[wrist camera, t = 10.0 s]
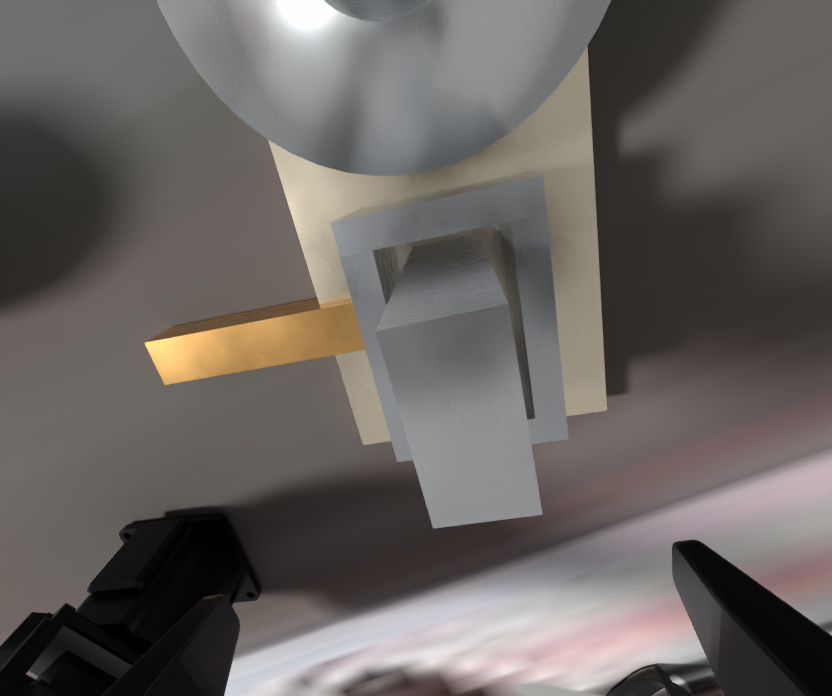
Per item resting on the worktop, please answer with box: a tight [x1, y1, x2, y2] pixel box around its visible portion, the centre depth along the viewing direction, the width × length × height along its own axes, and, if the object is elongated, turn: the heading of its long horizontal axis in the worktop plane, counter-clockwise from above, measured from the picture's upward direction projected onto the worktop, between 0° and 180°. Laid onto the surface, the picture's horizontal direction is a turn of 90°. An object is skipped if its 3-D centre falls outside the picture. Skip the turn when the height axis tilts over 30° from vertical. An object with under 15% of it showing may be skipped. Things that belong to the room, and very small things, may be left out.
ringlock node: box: [145, 0, 611, 462], centre depth 13 cm, size 23×19×9 cm
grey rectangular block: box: [376, 233, 543, 529], centre depth 13 cm, size 5×2×9 cm, turn 13°
